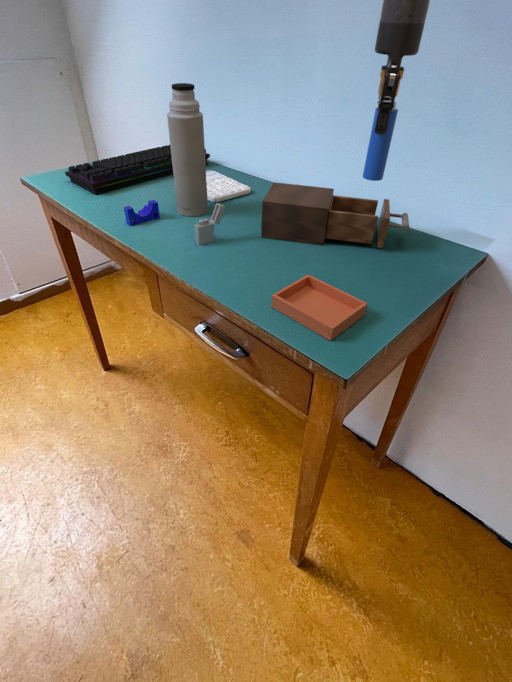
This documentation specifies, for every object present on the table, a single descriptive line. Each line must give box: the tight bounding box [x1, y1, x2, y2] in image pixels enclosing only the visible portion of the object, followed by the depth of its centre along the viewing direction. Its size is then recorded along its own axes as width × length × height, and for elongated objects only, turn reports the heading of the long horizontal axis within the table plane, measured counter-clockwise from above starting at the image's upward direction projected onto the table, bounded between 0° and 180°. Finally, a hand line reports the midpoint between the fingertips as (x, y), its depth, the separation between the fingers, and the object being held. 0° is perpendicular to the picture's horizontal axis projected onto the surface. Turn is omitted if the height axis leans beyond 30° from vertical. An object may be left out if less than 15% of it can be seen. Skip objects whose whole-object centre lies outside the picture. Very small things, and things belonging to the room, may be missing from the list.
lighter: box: [194, 202, 226, 246], centre depth 88 cm, size 7×2×8 cm, turn 125°
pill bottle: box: [362, 100, 399, 182], centre depth 80 cm, size 4×4×14 cm
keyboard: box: [64, 144, 211, 196], centre depth 124 cm, size 42×16×5 cm, turn 137°
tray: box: [271, 274, 369, 342], centre depth 70 cm, size 13×10×3 cm
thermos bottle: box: [166, 82, 209, 217], centre depth 94 cm, size 8×8×28 cm
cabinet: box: [260, 182, 335, 246], centre depth 93 cm, size 15×13×9 cm
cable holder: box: [123, 199, 161, 227], centre depth 97 cm, size 8×4×4 cm, turn 130°
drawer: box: [325, 194, 410, 249], centre depth 91 cm, size 18×11×7 cm, turn 76°
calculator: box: [206, 170, 252, 203], centre depth 115 cm, size 13×20×2 cm, turn 40°
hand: (379, 130), depth 79 cm, fingers closed on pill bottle, 4 cm apart
